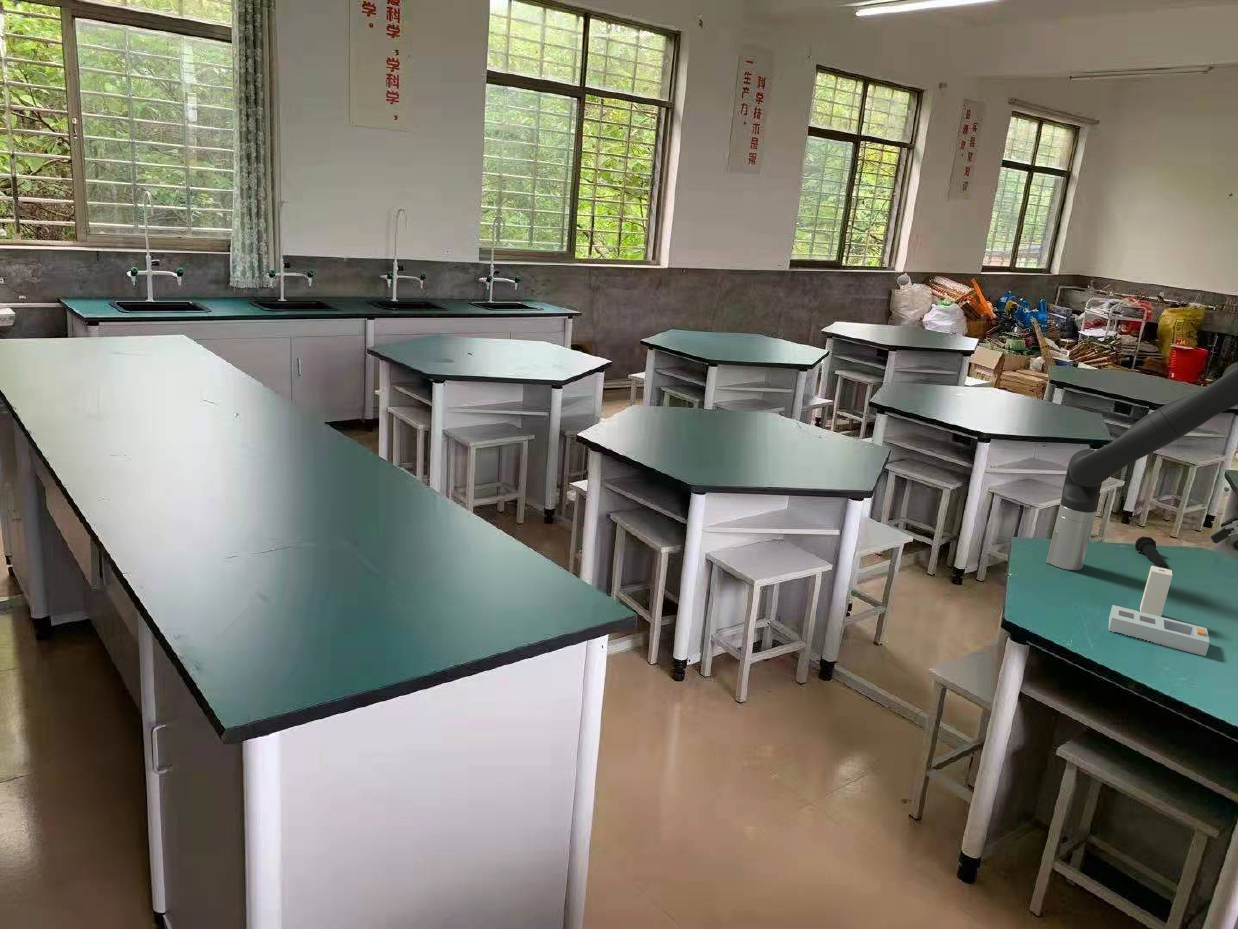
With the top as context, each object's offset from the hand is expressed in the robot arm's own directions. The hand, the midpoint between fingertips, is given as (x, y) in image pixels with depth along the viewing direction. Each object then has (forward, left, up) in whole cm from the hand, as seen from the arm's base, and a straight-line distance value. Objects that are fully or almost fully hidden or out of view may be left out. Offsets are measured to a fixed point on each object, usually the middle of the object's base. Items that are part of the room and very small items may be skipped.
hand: (1222, 543), depth 229 cm
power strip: (-11, -26, -19) cm, 34 cm away
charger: (-12, -12, -19) cm, 25 cm away
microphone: (-11, +34, -19) cm, 40 cm away
